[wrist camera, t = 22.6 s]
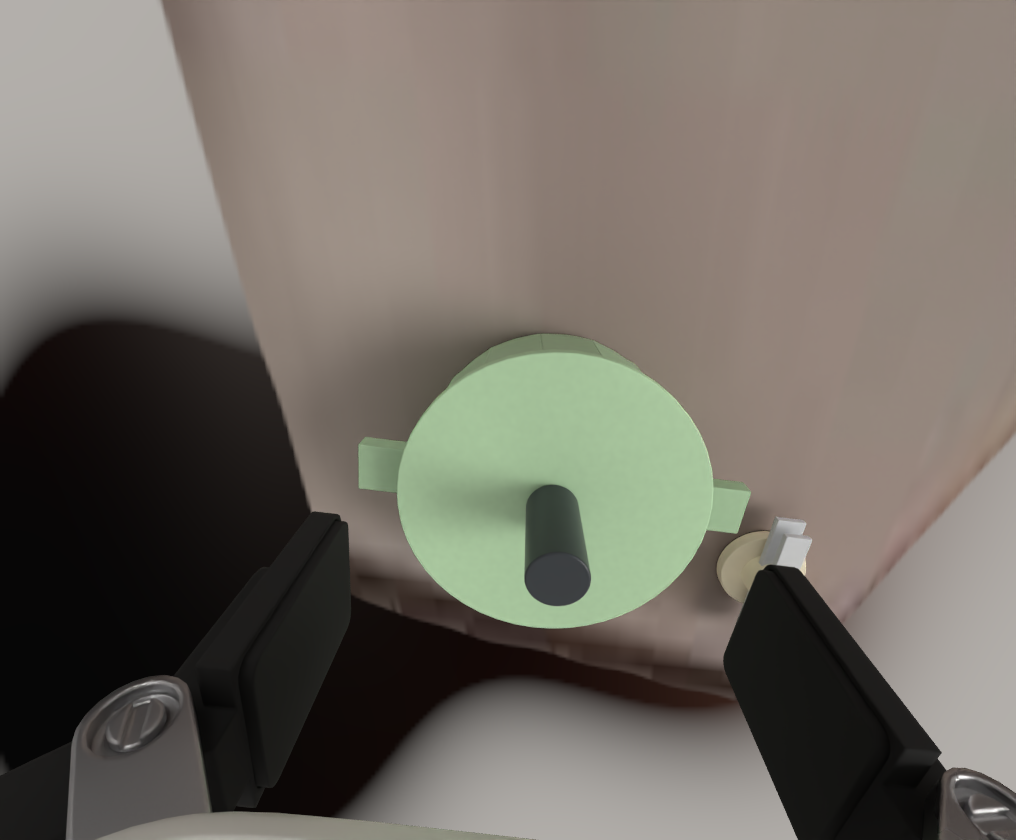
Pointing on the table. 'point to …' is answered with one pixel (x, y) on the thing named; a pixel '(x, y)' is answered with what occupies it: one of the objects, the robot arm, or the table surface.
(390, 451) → the pot
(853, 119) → the table surface
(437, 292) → the table surface
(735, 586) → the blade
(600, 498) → the lid
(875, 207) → the table surface
